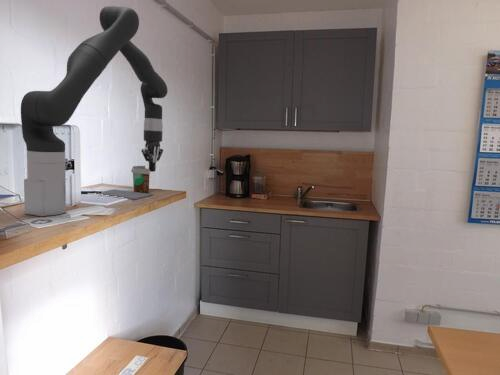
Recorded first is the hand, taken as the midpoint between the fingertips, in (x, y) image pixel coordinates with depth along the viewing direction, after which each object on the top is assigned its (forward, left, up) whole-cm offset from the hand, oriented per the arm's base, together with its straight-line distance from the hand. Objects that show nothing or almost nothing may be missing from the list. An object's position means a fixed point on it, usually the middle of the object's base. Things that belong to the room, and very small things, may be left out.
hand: (152, 171), depth 151 cm
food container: (-9, 0, -8) cm, 12 cm away
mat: (-18, 0, -8) cm, 20 cm away
